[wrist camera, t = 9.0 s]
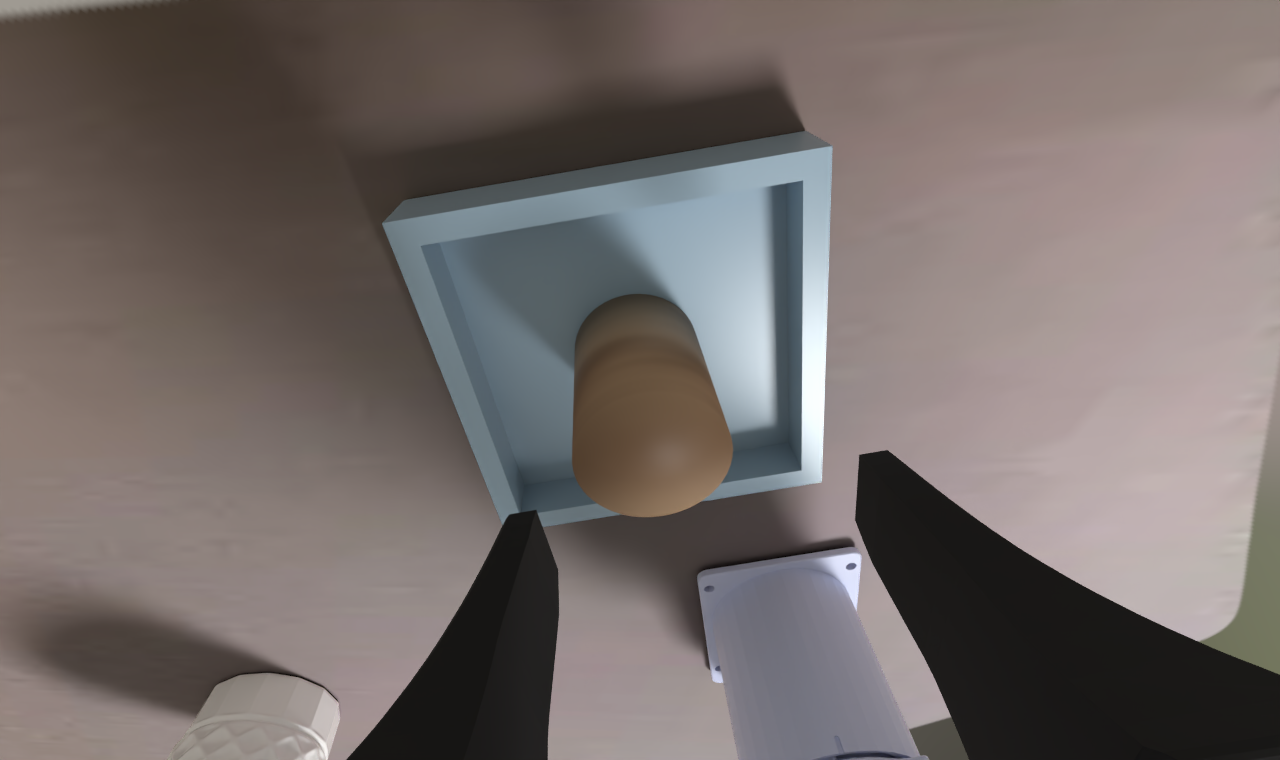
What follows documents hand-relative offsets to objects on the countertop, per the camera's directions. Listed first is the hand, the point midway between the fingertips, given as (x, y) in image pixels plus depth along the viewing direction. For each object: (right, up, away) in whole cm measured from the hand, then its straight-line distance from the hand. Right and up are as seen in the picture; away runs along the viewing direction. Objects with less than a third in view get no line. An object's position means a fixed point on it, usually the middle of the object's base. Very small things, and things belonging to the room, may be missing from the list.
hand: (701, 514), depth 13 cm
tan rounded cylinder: (-1, +4, +8) cm, 9 cm away
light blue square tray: (-2, +4, +8) cm, 10 cm away
